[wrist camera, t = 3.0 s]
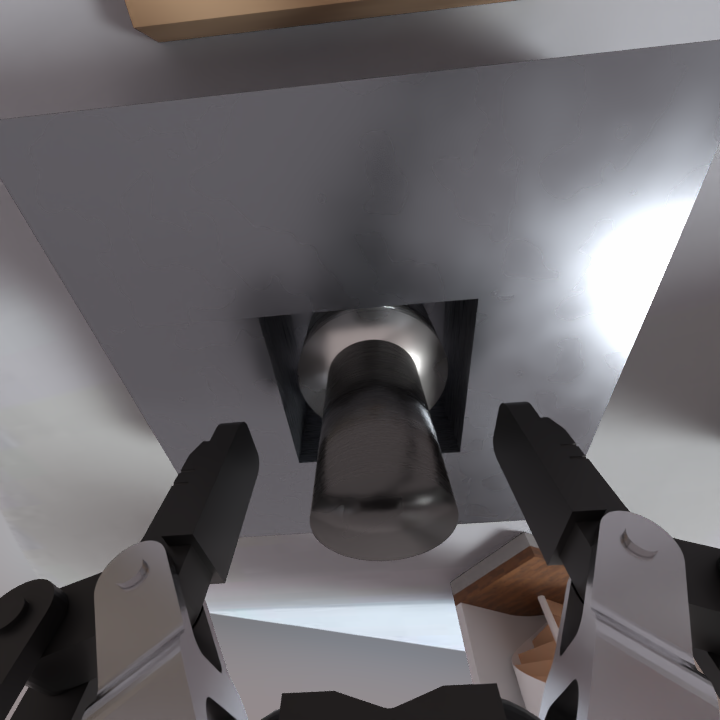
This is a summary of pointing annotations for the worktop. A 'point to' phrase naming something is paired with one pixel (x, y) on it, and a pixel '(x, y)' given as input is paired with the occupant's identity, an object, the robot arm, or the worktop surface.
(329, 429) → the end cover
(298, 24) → the oak pad
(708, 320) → the worktop surface
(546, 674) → the white shelf stand
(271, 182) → the housing
